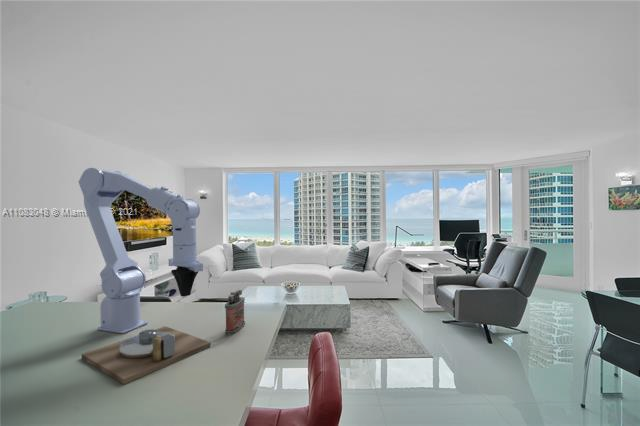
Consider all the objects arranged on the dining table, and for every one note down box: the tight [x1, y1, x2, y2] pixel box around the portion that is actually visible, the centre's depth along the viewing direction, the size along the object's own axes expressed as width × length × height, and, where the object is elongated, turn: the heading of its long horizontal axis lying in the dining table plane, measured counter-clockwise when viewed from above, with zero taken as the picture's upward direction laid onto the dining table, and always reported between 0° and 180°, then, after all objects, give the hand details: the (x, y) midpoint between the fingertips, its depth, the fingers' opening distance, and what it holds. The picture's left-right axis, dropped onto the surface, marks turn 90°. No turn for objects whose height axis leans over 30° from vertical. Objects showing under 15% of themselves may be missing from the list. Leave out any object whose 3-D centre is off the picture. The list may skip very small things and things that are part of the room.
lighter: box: [224, 289, 246, 336], centre depth 85 cm, size 8×3×10 cm, turn 168°
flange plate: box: [120, 328, 175, 358], centre depth 71 cm, size 11×14×4 cm
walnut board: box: [81, 325, 211, 385], centre depth 72 cm, size 19×19×6 cm
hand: (185, 295), depth 84 cm, fingers closed
